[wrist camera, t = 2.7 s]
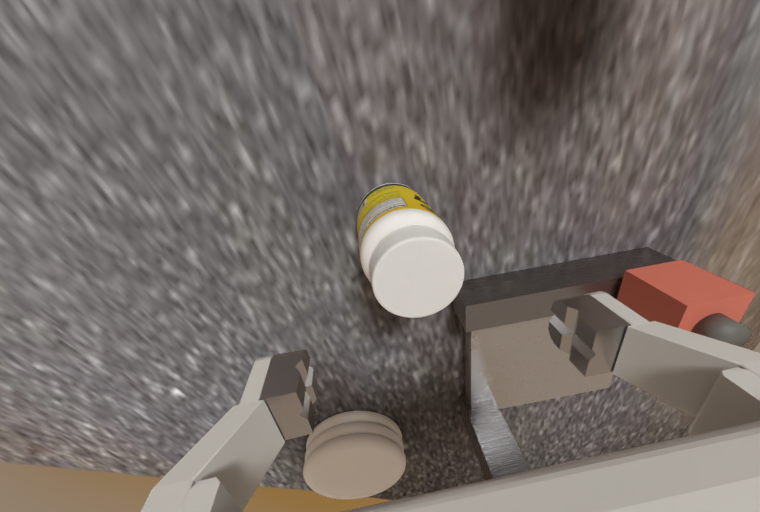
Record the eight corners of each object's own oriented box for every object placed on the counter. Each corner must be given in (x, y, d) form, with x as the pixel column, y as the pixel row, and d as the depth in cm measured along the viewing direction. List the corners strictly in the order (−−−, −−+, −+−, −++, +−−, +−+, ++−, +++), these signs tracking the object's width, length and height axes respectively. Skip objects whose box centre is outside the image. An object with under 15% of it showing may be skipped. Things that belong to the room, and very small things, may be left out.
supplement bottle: (435, 229, 20) (487, 298, 13) (376, 259, 21) (393, 342, 13) (407, 167, 18) (451, 207, 11) (342, 202, 19) (340, 263, 11)
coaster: (347, 393, 27) (347, 430, 24) (419, 428, 31) (428, 464, 28) (287, 447, 30) (280, 486, 27) (360, 473, 34) (362, 510, 31)
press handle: (681, 259, 20) (785, 305, 15) (663, 306, 21) (750, 360, 17) (625, 270, 19) (712, 320, 15) (611, 316, 21) (685, 373, 17)
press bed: (647, 247, 23) (837, 333, 14) (602, 385, 31) (706, 498, 22) (451, 283, 22) (520, 396, 14) (456, 414, 30) (501, 541, 21)
